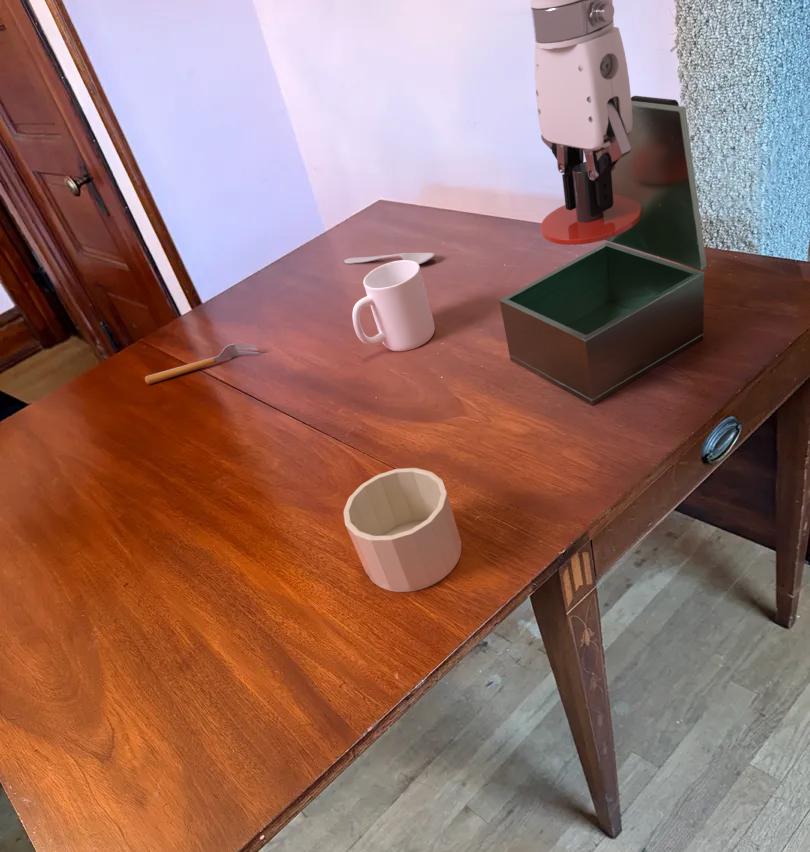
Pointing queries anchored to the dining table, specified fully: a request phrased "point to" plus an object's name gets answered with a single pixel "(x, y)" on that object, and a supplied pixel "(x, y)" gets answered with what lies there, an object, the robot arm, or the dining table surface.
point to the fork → (202, 362)
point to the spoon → (405, 256)
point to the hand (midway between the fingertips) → (589, 206)
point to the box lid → (660, 184)
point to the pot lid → (581, 226)
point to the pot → (403, 529)
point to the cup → (396, 306)
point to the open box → (604, 320)
